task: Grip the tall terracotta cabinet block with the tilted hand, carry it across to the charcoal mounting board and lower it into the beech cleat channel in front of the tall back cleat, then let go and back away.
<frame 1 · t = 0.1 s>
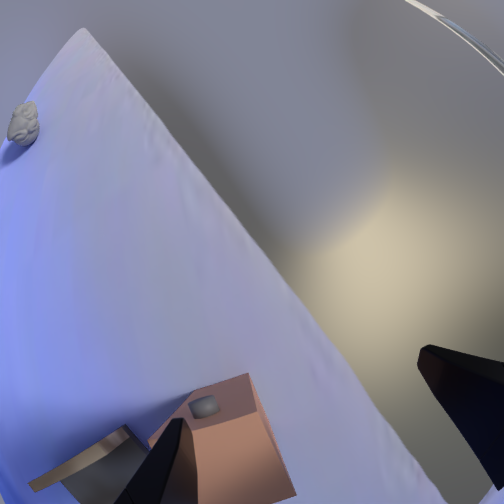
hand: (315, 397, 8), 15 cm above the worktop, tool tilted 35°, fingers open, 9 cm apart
cleat board: (115, 483, 17), on the worktop
cabinet block: (231, 406, 21), on the worktop
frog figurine: (34, 138, 30), on the worktop
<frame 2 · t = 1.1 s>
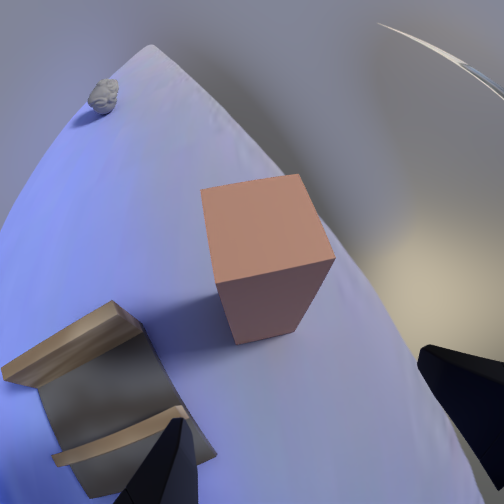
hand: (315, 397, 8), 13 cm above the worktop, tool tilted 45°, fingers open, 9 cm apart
cleat board: (102, 400, 19), on the worktop
cabinet block: (258, 311, 23), on the worktop
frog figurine: (109, 111, 42), on the worktop
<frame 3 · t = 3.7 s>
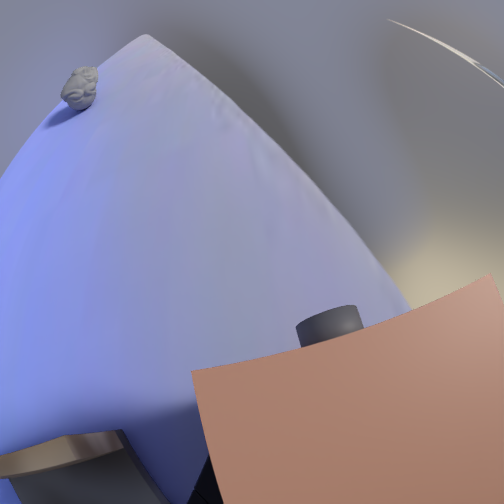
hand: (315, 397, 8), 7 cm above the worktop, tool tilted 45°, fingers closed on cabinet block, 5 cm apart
cabinet block: (296, 419, 13), on the worktop, touching gripper
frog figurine: (87, 107, 32), on the worktop
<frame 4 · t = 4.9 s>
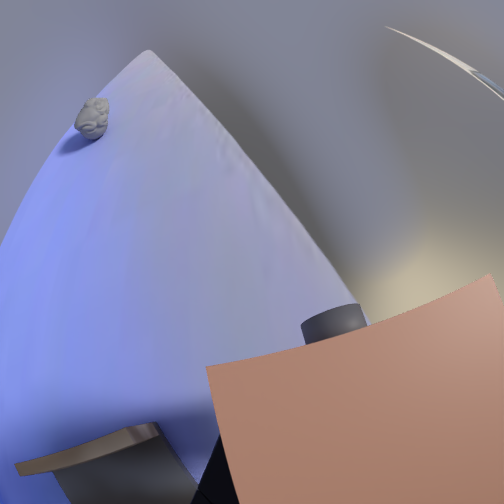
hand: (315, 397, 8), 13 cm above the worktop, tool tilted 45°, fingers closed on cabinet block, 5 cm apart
cleat board: (123, 488, 14), on the worktop
cabinet block: (295, 418, 13), point 6 cm above the worktop, touching gripper
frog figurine: (100, 135, 38), on the worktop
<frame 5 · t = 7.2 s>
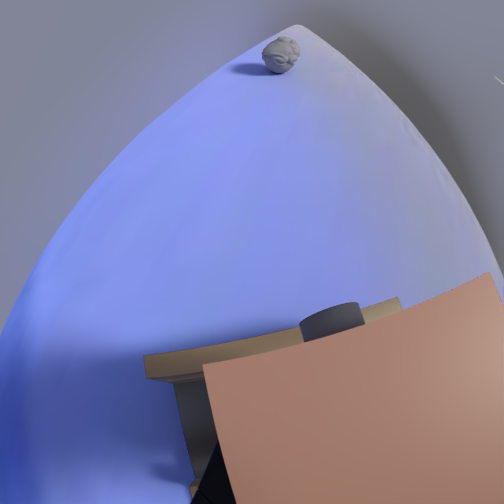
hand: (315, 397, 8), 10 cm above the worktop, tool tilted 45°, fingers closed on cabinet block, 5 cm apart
cleat board: (288, 412, 16), on the worktop
cabinet block: (295, 417, 13), point 3 cm above the worktop, touching gripper
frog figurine: (279, 72, 40), on the worktop
when the fingers open (9 cm above the worktop, at t = 7.8 s): cabinet block drops 1 cm, resting on cleat board.
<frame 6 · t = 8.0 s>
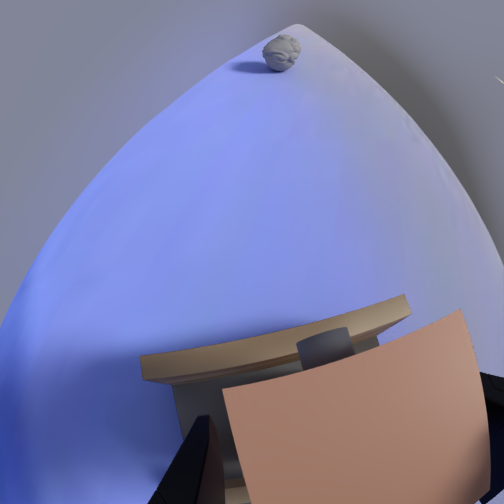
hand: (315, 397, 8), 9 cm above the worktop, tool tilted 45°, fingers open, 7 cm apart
cleat board: (290, 415, 15), on the worktop
cabinet block: (293, 416, 14), point 1 cm above the worktop, touching cleat board
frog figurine: (280, 70, 40), on the worktop
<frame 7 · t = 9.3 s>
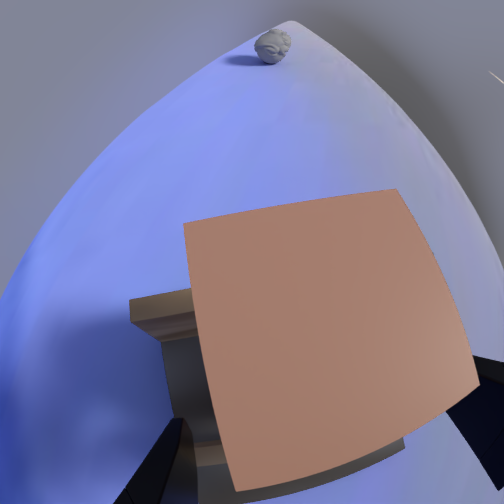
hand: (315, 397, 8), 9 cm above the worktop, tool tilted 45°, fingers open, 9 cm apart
cleat board: (276, 374, 17), on the worktop
cabinet block: (278, 372, 16), point 1 cm above the worktop, touching cleat board
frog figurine: (271, 63, 41), on the worktop
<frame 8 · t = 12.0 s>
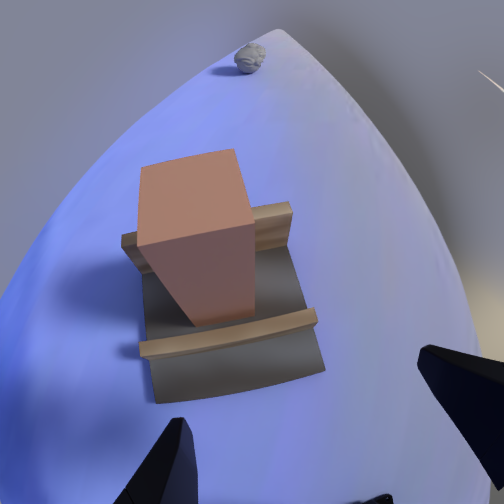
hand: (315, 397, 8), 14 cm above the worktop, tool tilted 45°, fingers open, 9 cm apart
cleat board: (221, 298, 24), on the worktop
cabinet block: (219, 294, 23), point 1 cm above the worktop, touching cleat board
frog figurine: (249, 73, 49), on the worktop
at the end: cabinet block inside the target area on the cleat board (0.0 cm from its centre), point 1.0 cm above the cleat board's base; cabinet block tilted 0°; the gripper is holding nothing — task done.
